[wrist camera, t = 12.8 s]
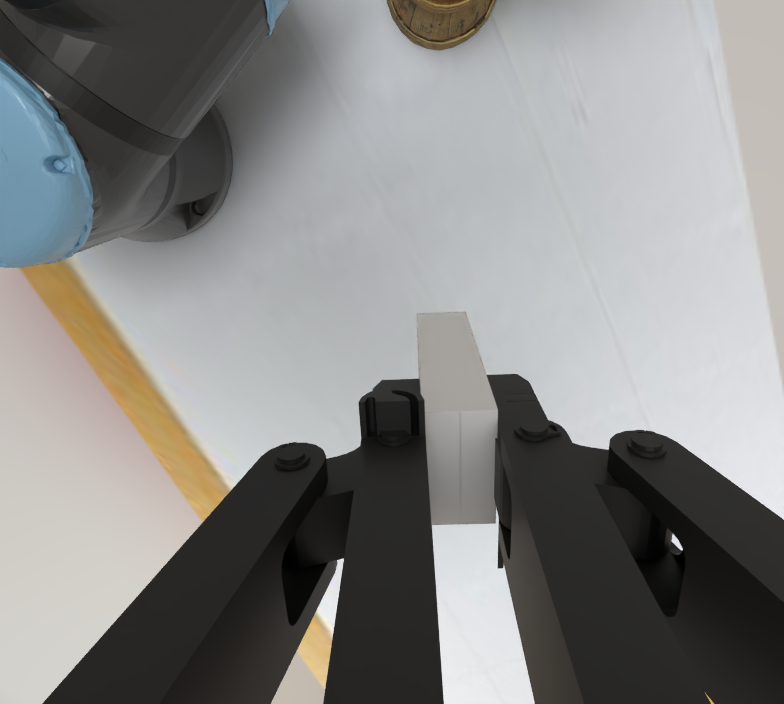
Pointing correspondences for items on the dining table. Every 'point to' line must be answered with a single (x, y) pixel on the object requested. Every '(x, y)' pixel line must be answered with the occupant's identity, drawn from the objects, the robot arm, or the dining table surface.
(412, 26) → the wooden mug
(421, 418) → the robot arm
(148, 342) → the dining table surface
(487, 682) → the dining table surface
